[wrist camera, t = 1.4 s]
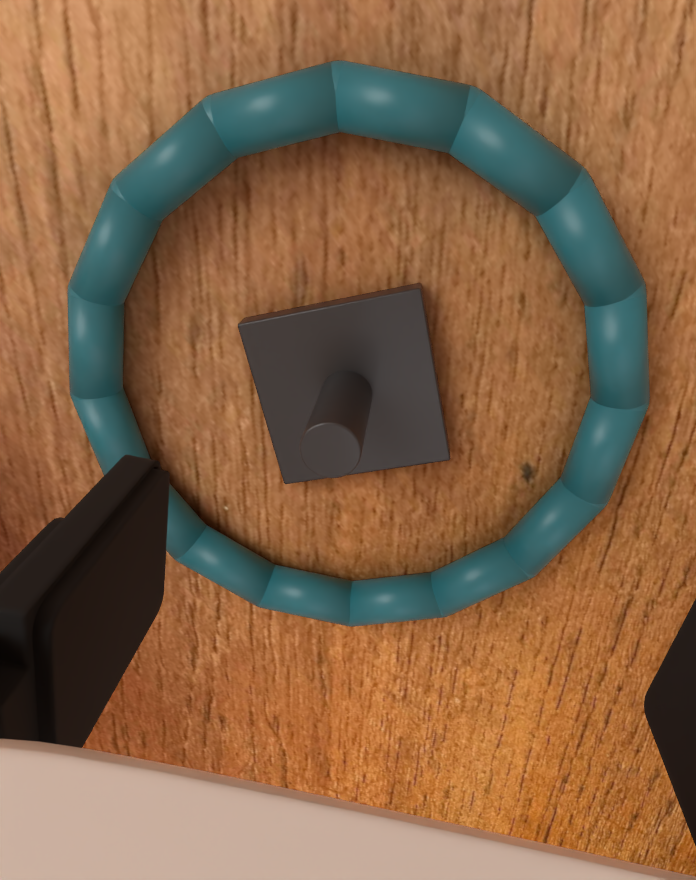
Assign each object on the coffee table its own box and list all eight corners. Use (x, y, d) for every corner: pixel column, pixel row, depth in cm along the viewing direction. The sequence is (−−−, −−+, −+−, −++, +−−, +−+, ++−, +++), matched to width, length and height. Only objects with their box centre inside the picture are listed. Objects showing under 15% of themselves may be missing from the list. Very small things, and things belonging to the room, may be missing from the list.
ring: (625, -14, 19) (646, -30, 17) (647, 575, 28) (662, 605, 26) (-7, 157, 23) (-43, 159, 22) (184, 624, 32) (169, 654, 30)
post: (421, 282, 24) (420, 324, 18) (450, 449, 26) (456, 529, 21) (243, 317, 25) (193, 367, 19) (288, 473, 28) (256, 555, 22)
